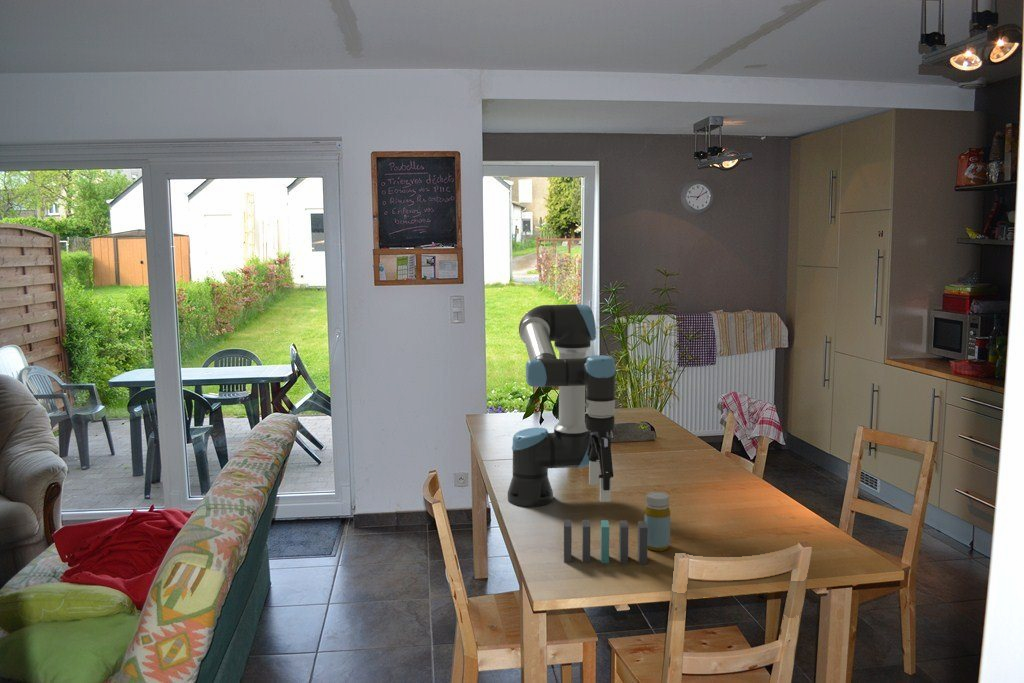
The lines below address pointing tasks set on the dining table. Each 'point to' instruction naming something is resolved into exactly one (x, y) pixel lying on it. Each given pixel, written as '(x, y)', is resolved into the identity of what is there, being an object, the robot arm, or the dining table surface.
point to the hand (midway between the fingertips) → (599, 492)
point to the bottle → (657, 521)
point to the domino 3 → (604, 541)
